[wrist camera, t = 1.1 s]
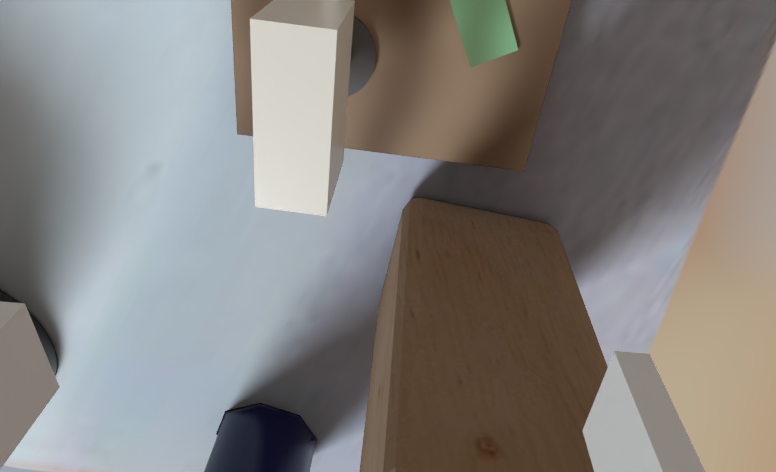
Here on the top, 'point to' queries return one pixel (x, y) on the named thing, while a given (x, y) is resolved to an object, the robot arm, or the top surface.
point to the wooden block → (479, 349)
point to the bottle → (261, 442)
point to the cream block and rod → (300, 101)
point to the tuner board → (436, 76)
